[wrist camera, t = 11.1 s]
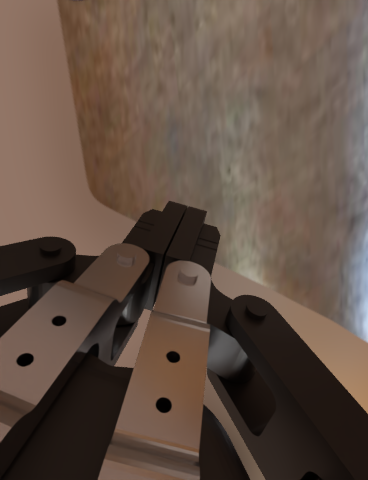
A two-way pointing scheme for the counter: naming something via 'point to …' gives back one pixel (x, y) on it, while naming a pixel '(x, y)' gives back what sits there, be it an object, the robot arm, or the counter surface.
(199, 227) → the robot arm
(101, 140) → the counter surface
